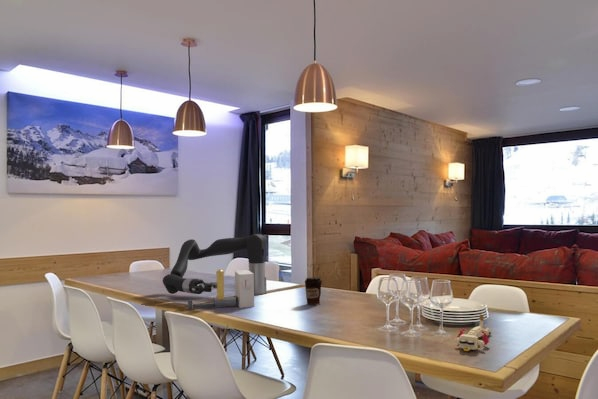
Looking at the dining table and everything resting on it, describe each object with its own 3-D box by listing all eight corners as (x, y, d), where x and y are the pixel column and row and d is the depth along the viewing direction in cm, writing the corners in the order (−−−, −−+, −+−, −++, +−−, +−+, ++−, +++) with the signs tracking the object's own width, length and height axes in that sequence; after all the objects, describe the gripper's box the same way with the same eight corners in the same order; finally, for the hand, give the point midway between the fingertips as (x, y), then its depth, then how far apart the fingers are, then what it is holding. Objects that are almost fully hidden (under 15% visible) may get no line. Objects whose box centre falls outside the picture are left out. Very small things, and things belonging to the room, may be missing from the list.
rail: (242, 303, 233) (241, 296, 233) (243, 305, 229) (243, 298, 230) (187, 308, 226) (187, 300, 226) (188, 310, 222) (188, 302, 222)
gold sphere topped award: (233, 303, 234) (233, 267, 234) (235, 305, 227) (235, 269, 227) (213, 304, 231) (212, 269, 231) (215, 307, 224) (214, 270, 224)
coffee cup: (320, 306, 223) (320, 279, 224) (303, 306, 225) (303, 279, 225) (323, 302, 232) (322, 276, 232) (307, 302, 233) (306, 276, 234)
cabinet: (249, 301, 239) (248, 270, 240) (254, 307, 225) (253, 273, 226) (234, 302, 237) (233, 271, 237) (239, 308, 223) (238, 274, 223)
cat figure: (468, 336, 172) (449, 348, 151) (468, 312, 173) (449, 321, 152) (497, 340, 167) (481, 353, 146) (497, 315, 167) (481, 325, 147)
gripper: (203, 290, 244) (226, 293, 235) (183, 295, 232) (206, 298, 223) (203, 276, 244) (226, 278, 235) (182, 280, 232) (206, 283, 223)
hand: (216, 288), depth 229 cm, fingers open, 8 cm apart
